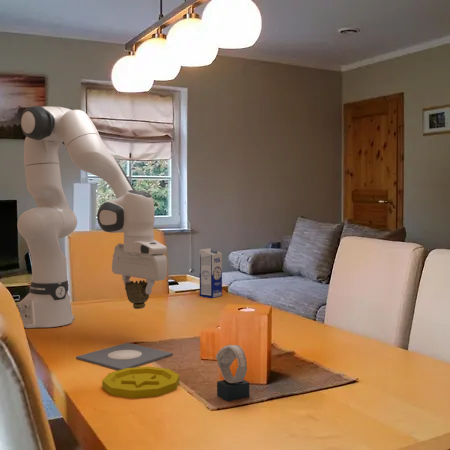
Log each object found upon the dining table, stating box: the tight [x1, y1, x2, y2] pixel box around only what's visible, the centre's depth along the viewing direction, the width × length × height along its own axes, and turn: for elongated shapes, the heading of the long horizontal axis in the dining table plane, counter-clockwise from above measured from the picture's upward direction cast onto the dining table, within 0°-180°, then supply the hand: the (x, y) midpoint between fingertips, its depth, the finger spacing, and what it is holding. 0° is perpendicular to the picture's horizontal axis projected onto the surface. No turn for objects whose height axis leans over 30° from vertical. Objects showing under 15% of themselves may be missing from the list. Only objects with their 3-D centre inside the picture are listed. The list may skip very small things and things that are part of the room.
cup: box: [124, 279, 150, 310], centre depth 176 cm, size 8×7×8 cm
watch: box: [215, 344, 250, 402], centre depth 128 cm, size 6×8×11 cm
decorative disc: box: [101, 365, 180, 399], centre depth 136 cm, size 17×18×2 cm
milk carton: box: [199, 247, 223, 299], centre depth 249 cm, size 7×7×20 cm
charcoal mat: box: [75, 342, 174, 371], centre depth 159 cm, size 18×18×1 cm
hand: (138, 292), depth 176 cm, fingers closed on cup, 7 cm apart
